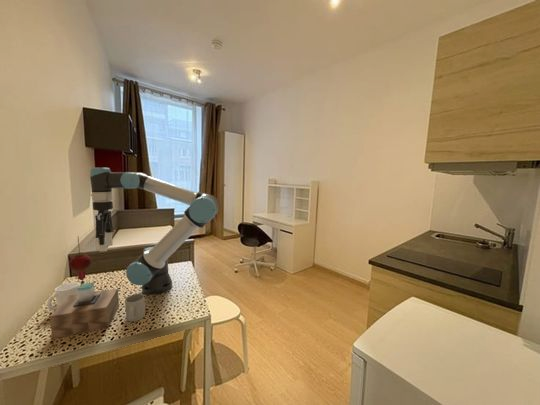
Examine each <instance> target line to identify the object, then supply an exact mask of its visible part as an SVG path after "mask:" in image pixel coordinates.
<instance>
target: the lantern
mask: <svg viewBox="0 0 540 405" xmlns="http://www.w3.org/2000/svg"><path fill="white" fill-rule="evenodd" d="M79 240H80V239H79V237H77V243H78V244H77V245H78V246H80V241H79ZM80 250H81V249H80V248H78V252H77V253H75V255H74V256H72V257H71V259H70V260H69V262H68V266H69V268H70V269H71V270H73V271H76V273H77V280H80V285H81V284H84V283H85V282H84V279H86V269H87V268H89V267H90V266H91V264H92V261H93V260H92V258H91V256H90V255H88V254H85V253H84V252H81V251H80Z"/></svg>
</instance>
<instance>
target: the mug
mask: <svg viewBox="0 0 540 405" xmlns="http://www.w3.org/2000/svg"><path fill="white" fill-rule="evenodd" d="M79 287H80V283H79V282H73V281H72V282H67V283H63V284H61V285H59V286H57V287H55V289H54V290H55V291H54V294H51V296H49V298H48V300H47V302H46V307H47V309H48V310H50V311H55V310H56V309H57V308H58V307H59V306H60V305H61V304H62V303H63V302H64V301H65V300H66V299H67V298H68V297H69V296H70V295H76V294H79V293H78V288H79ZM54 299H55V301H56V302H55V303H56V306H52V302H53V300H54Z"/></svg>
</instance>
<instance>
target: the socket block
mask: <svg viewBox="0 0 540 405" xmlns="http://www.w3.org/2000/svg"><path fill="white" fill-rule="evenodd" d="M94 292H95V299H94V300H93V301H92V302H86V303H79V294H76V295H70V296H69V297H68V298H67V299H66V300H65V301H64V302H63V303H62V304H61V305H60V306H59V307H58V308H57V309H56V310H53V313H51V314H50V315H49V323H50V332H51V339H57V338H61V337H66V336H72V335H78V334H83V333H88V332H94V331H99V330H103V329H104V330H105V329H108V328H109V327H110V325H111V323H112V321H113V320H114V318H115V315H116V313H117V311H118V309H119V308H120V304H119V302H120V301H119V289H118V288H112V289H107V290H106V289H105V290H98V291H94Z"/></svg>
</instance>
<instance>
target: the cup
mask: <svg viewBox="0 0 540 405" xmlns="http://www.w3.org/2000/svg"><path fill="white" fill-rule="evenodd" d="M124 305H125V308H124V309H125V319H126V321H127V322H130V323H132V322H134V323H135V322H137V321H140V320H142V319H143V318H144V317H145V315H146V304H145V294H144V293H134V294H131V295H128V296H127V297H126V298H125V300H124Z"/></svg>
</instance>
